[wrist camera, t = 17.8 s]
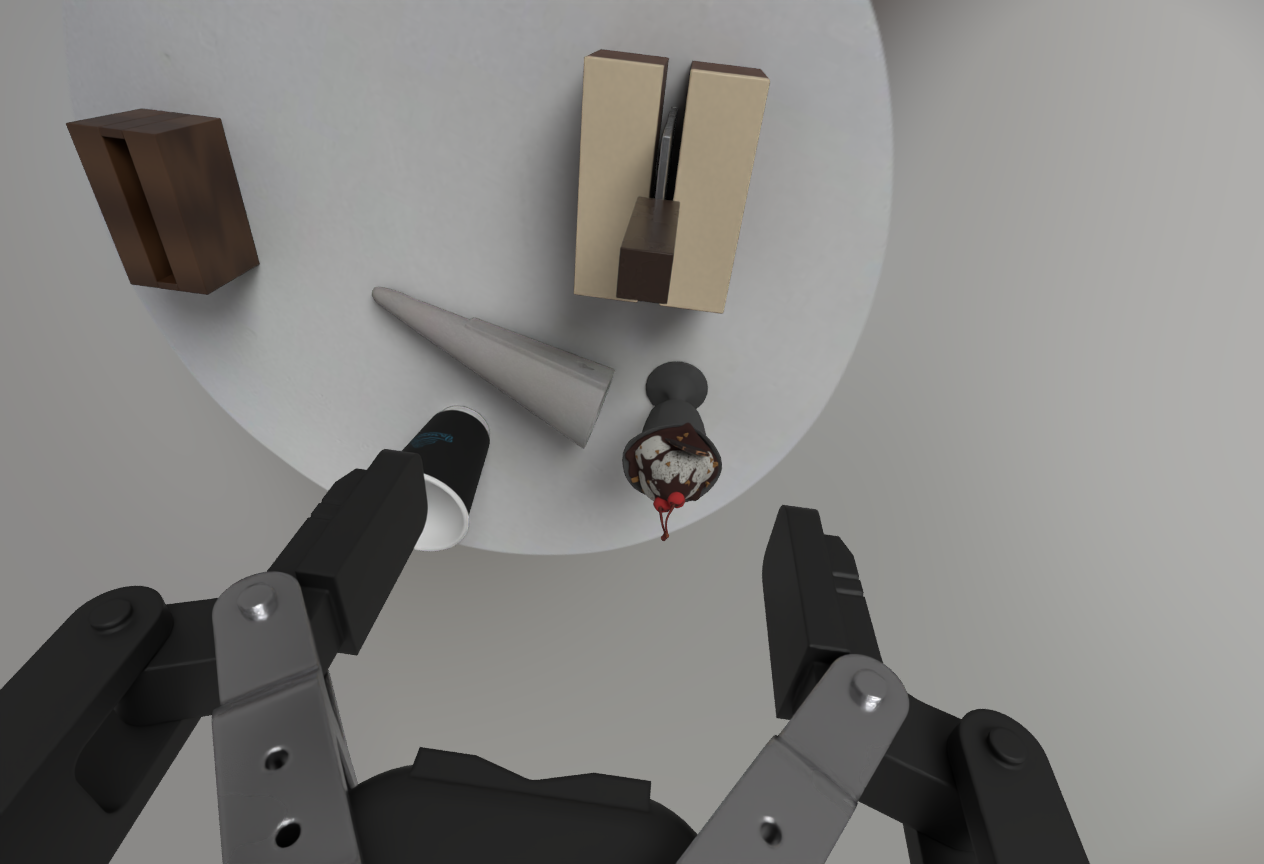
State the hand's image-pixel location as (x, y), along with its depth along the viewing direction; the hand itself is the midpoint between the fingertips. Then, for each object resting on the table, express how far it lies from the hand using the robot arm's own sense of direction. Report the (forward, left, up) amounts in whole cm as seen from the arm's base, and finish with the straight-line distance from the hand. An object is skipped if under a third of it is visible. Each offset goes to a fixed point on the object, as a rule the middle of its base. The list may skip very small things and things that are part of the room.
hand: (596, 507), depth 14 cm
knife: (0, 0, -32) cm, 32 cm away
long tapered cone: (+15, -12, -32) cm, 38 cm away
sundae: (+16, +3, -32) cm, 36 cm away
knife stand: (+5, -33, -32) cm, 46 cm away
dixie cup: (+23, -15, -32) cm, 42 cm away
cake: (0, 0, -32) cm, 32 cm away
